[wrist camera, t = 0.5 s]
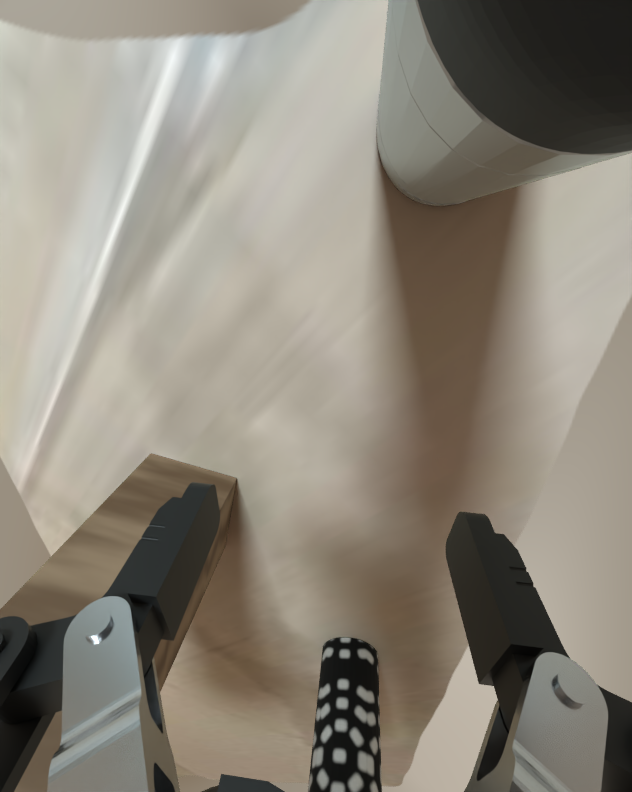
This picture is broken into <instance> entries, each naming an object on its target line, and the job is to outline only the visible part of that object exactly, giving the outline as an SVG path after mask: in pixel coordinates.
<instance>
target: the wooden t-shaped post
mask: <svg viewBox="0 0 632 792" xmlns="http://www.w3.org/2000/svg"><path fill="white" fill-rule="evenodd" d="M236 480H237V478H234V477H231V476H227V475H224V474H220V473H217V472H214V471H210V470H207V469H203V468H200V467H196V466H193V465H189V464H186V463H182V462H179V461H175V460H172V459H169V458H165V457H162V456H158V455H155V454H150V455H149V456H148V457H147V458H146V459H145V460H144V461H143V462H142V463H141V464H140V465H139V466H138V467H137V468H136V469H135V470H134V472H133V473H132V474H131V475H130V476H129V477H128V478H127V479H126V480H125V481H124V482H123V483H122V484H121V485H120V486H119V487H118V488H117V489H116V490H115V491H114V492H113V493H112V494H111V495H110V496H109V497H108V498H107V500H106V501H105V502H104V503H103V504H102V505H101V506H100V507H99V508H98V509H97V510H96V511H95V512H94V513H93V514H92V515H91V516H90V517H89V518H88V519H87V520H86V521H85V522H84V523H83V524H82V525H81V526H80V527H79V529H78V530H77V531H76V532H75V533H74V534H73V535H72V536H71V537H70V538H69V539H68V540H67V541H66V542H65V543H64V544H63V545H62V546H61V547H60V548H59V549H58V550H57V551H56V552H55V553H54V554H53V555H52V556H51V558H50V559H49V560H48V561H47V562H46V563H45V564H44V565H43V566H42V567H41V568H40V569H39V570H38V571H37V572H36V573H35V574H34V575H33V576H32V577H31V578H30V579H29V581H27V582H26V583H25V585H24V586H23V587H22V588H21V589H20V590H19V591H18V592H17V593H16V594H15V595H14V596H13V597H12V598H11V599H10V600H9V601H8V602H7V603H6V604H5V605H4V606H3V607H2V608H1V609H0V618H3V617H8V616H17V617H21V618H23V619H24V620H25V621H26V622H27V623H28V624H29V625H30V626H31V625H36V624H40V623H45V622H49V621H54V620H58V619H63V618H67V617H71V616H74V615H76V614H78V613H79V612H80V611H81V610H83V609H84V608H85V607H86V606H88V605H89V604H91V603H92V602H94V601H96V600H98V599H101V598H102V597H103V596H104V594H105V593H106V592H107V591H108V589H109V588H110V587H111V585H112V583H113V582H114V580H115V579H116V577H117V575H118V574H119V572H120V570H121V569H122V567H123V566H124V564H125V562H126V561H127V559H128V558H129V556H130V554H131V553H132V551H133V549H134V548H135V546H136V545H137V543H138V541H139V540H141V538H142V535H143V533H144V532H145V530H146V528H147V527H149V524H150V522H151V520H152V519H153V517H154V516H155V514H156V512H157V511H158V509H159V508H160V507H161V506H163V505H164V504H165V503H166V502H167V501H168V500H170V499H171V498H172V497H178V498H182V496H183V494H184V492H185V490H186V489H187V487H188V485H189V484H190V483H192V482H196V483H205V484H214V485H215V486H216V491H217V497H218V504H219V510H220V523H219V528H218V531H217V534H216V537H215V539H214V542H213V544H212V546H211V549H210V551H209V554H208V556H207V559H206V561H205V564H204V566H203V569H202V571H201V574H200V576H199V579H198V581H197V584H196V586H195V589H194V591H193V594H192V596H191V599H190V601H189V604H188V606H187V609H186V611H185V614H184V616H183V619H182V621H181V624H180V626H179V629H178V631H177V634H176V636H175V639H174V641H170V640H163V639H161V641H160V643H159V646H158V648H157V650H156V653H155V655H154V660H155V666H156V672H157V677H158V683H159V689H160V691H161V689H162V687H163V684H164V682H165V680H166V678H167V676H168V673H169V671H170V669H171V667H172V664H173V662H174V660H175V658H176V655H177V653H178V651H179V649H180V646H181V644H182V642H183V640H184V637H185V635H186V633H187V631H188V629H189V626H190V624H191V622H192V620H193V617H194V615H195V613H196V611H197V608H198V606H199V604H200V602H201V599H202V597H203V595H204V593H205V590H206V588H207V586H208V584H209V582H210V579H211V577H212V575H213V573H214V570H215V568H216V566H217V564H218V561H219V559H220V557H221V555H222V552H223V550H224V548H225V545H226V539H227V533H228V527H229V521H230V515H231V509H232V504H233V498H234V492H235V486H236ZM61 736H62V711H59V712H56V713H55V715H54V717H53V719H52V721H51V723H50V725H49V726H48V728H47V730H46V732H45V734H44V736H43V738H42V740H41V742H40V744H39V745H38V747H37V749H36V751H35V753H34V755H33V757H32V759H31V761H30V762H29V764H28V766H27V768H26V770H25V772H24V774H23V776H22V778H21V780H20V781H19V783H18V785H17V787H16V789H15V791H14V792H47V790H48V775H49V768H50V764H51V760H52V757H53V755H54V753H55V752H56V751H57V750H58V749H59V747H60V743H61Z"/></svg>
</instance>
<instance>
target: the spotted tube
mask: <svg viewBox="0 0 632 792" xmlns="http://www.w3.org/2000/svg"><path fill="white" fill-rule="evenodd" d="M381 787H382V786H381V749H380V712H379V675H378V654H377V651H376V650H375V649H374V648H373V647H372V646H371V645H369V644H368V643H366V642H363V641H361V640H358V639H353V638H335V639H332V640H330V641H328V642H326V643H325V644H324V646H323V652H322V661H321V671H320V681H319V690H318V700H317V709H316V719H315V729H314V738H313V748H312V757H311V767H310V777H309V786H308V792H382V788H381Z"/></svg>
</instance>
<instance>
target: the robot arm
mask: <svg viewBox="0 0 632 792" xmlns="http://www.w3.org/2000/svg"><path fill="white" fill-rule="evenodd" d="M376 130H377V144H378V150H379V154H380V158H381V162H382V165H383V167H384V169H385V171H386V173H387V175H388V177H389V179H390V180H391V181H392V182H393V184H394V185H395V186H396V187H397V189H398V190H399V191H401V192H402V193H403V194H405V195H406V196H407V197H409V198H410V199H412V200H415V201H417V202H419V203H422V204H426V205H433V206H444V205H453V204H459V203H464V202H465V201H467V200H471V199H475V198H479V197H482V196H486V195H489V194H493V193H496V192H499V191H503V190H506V189H510V188H513V187H517V186H520V185H524V184H527V183H531V182H534V181H537V180H541V179H544V178H548V177H551V176H555V175H558V174H562V173H565V172H568V171H572V170H575V169H579V168H582V167H585V166H588V165H592V164H595V163H598V162H602V161H605V160H609V159H612V158H616V157H619V156H622V155H626V154H629V153H632V0H389V1H388V11H387V22H386V32H385V43H384V53H383V64H382V74H381V85H380V94H379V104H378V116H377V128H376ZM219 523H220V510H219V504H218V497H217V491H216V486H215V485H214V484H205V483H196V482H192V483H190V484H189V485H188V487H187V489H186V490H185V492H184V494H183V496H182V498H178V497H172V498H171V499H170V500H168V501H167V502H166V503H165V504H164V505H163V506H161V507H160V508H159V509H158V511H157V512H156V514H155V516H154V517H153V519H152V520H151V522H150V524H149V527H147V528H146V530H145V532H144V533H143V535H142V538H141V540H139V541H138V543H137V545H136V546H135V548H134V549H133V551H132V553H131V554H130V556H129V558H128V559H127V561H126V562H125V564H124V566H123V567H122V569H121V570H120V572H119V574H118V575H117V577H116V579H115V580H114V582H113V583H112V585H111V587H110V588H109V589H108V591H107V592H106V593H105V594H104V596H103V597H102V598H101V599H98V600H96V601H94V602H92V603H91V604H89V605H88V606H86V607H85V608H84V609H83V610H81V611H80V612H79V613H78V614H76V615H74V616H71V617H67V618H63V619H58V620H54V621H49V622H45V623H40V624H36V625H31V626H30V625H29V624H28V623H27V622H26V621H25V620H24V619H23V618H21V617H17V616H8V617H3V618H0V792H14V791H15V789H16V787H17V785H18V783H19V781H20V780H21V778H22V776H23V774H24V772H25V770H26V768H27V766H28V764H29V762H30V761H31V759H32V757H33V755H34V753H35V751H36V749H37V747H38V745H39V744H40V742H41V740H42V738H43V736H44V734H45V732H46V730H47V728H48V726H49V725H50V723H51V721H52V719H53V717H54V715H55V713H56V712H59V711H62V736H61V743H60V747H59V749H58V750H57V751H56V752H55V753H54V755H53V757H52V760H51V764H50V768H49V775H48V790H47V792H180V788H179V782H178V776H177V771H176V766H175V761H174V757H173V753H172V749H171V746H170V743H169V739H168V735H167V730H166V725H165V719H164V713H163V707H162V701H161V695H160V689H159V683H158V677H157V672H156V666H155V660H154V655H155V653H156V650H157V648H158V646H159V643H160V641H161V639H163V640H170V641H174V639H175V636H176V634H177V631H178V629H179V626H180V624H181V621H182V619H183V616H184V614H185V611H186V609H187V606H188V604H189V601H190V599H191V596H192V594H193V591H194V589H195V586H196V584H197V581H198V579H199V576H200V574H201V571H202V569H203V566H204V564H205V561H206V559H207V556H208V554H209V551H210V549H211V546H212V544H213V542H214V539H215V537H216V534H217V531H218V528H219ZM446 559H447V563H448V567H449V571H450V575H451V578H452V582H453V586H454V590H455V594H456V598H457V601H458V605H459V609H460V613H461V617H462V620H463V624H464V628H465V632H466V636H467V640H468V643H469V647H470V651H471V655H472V659H473V663H474V666H475V670H476V674H477V678H478V682H479V684H484V685H491V686H494V688H495V691H496V695H497V698H498V701H497V702H496V704H495V707H494V710H493V713H492V716H491V719H490V722H489V725H488V729H487V731H486V734H485V737H484V740H483V743H482V746H481V749H480V752H479V755H478V758H477V761H476V764H475V767H474V770H473V773H472V776H471V779H470V781H469V783H468V785H467V787H466V789H465V791H464V792H632V702H630V701H627V700H625V699H623V698H621V697H619V696H617V695H615V694H613V693H611V692H608V691H607V690H605V689H603V688H601V687H600V686H598V685H597V684H596V683H595V681H594V680H593V679H592V678H591V677H590V675H589V674H588V673H587V672H586V671H585V670H584V669H583V668H582V667H581V666H579V665H578V664H577V663H576V662H574V661H573V660H571V659H570V657H569V656H568V655H567V653H566V651H565V650H564V648H563V646H562V644H561V641H560V639H559V637H558V635H557V633H556V631H555V629H554V626H553V624H552V622H551V620H550V618H549V616H548V614H547V612H546V609H545V607H544V605H543V603H542V601H541V599H540V597H539V595H538V592H537V590H536V588H535V587H533V582H532V580H531V577H530V576H529V573H528V572H526V567H525V565H524V563H523V560H522V558H521V556H520V554H519V552H518V550H517V549H516V548H515V547H514V546H513V544H512V543H511V542H510V541H509V540H508V539H507V538H506V536H505V535H504V534H496V533H495V532H494V530H493V527H492V525H491V523H490V520H489V518H488V517H487V516H486V515H485V514H477V513H467V512H459V513H458V515H457V517H456V519H455V522H454V524H453V526H452V529H451V531H450V534H449V536H448V538H447V542H446ZM202 792H284V791H283V790H281V789H279V788H278V787H276V786H274V785H273V784H271V783H270V782H268V781H262V780H256V779H249V778H243V777H236V776H230V775H224V774H221V778H220V782H219V785H218V786H215V787H211V788H209V789H207V790H205V791H202Z"/></svg>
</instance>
